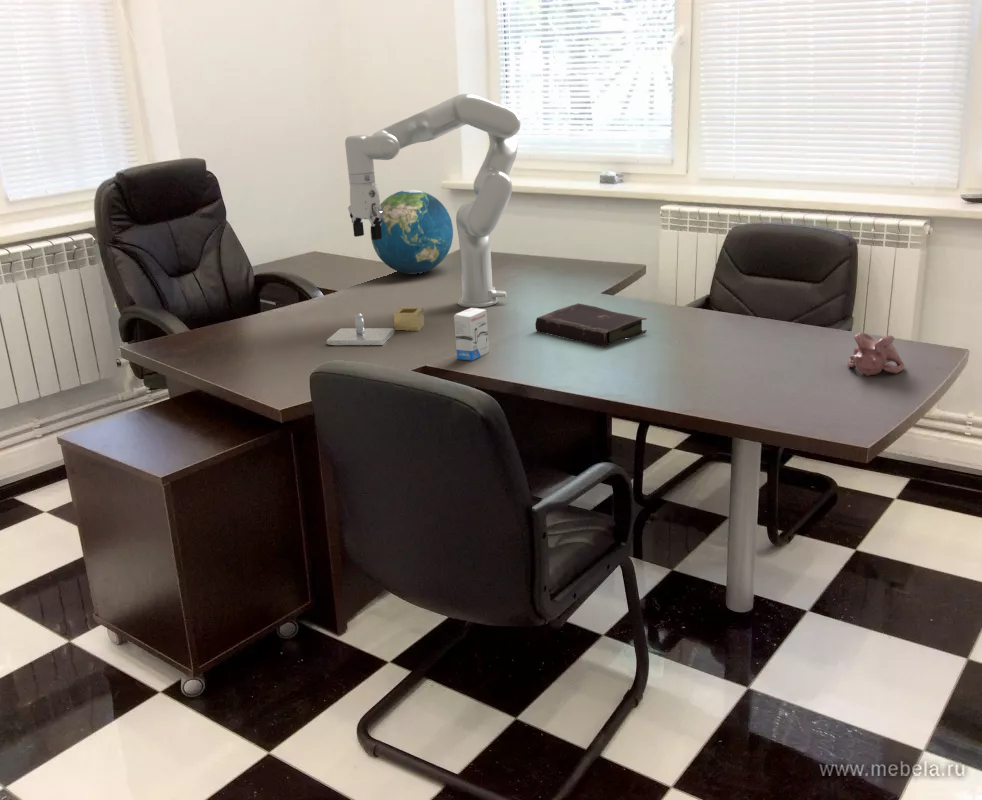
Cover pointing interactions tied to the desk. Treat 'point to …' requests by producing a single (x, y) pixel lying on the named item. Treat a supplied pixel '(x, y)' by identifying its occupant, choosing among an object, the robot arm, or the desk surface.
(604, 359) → the desk surface
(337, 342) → the post block
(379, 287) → the desk surface
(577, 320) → the diary
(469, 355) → the ink box
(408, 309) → the tan block
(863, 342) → the figurine
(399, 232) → the globe
